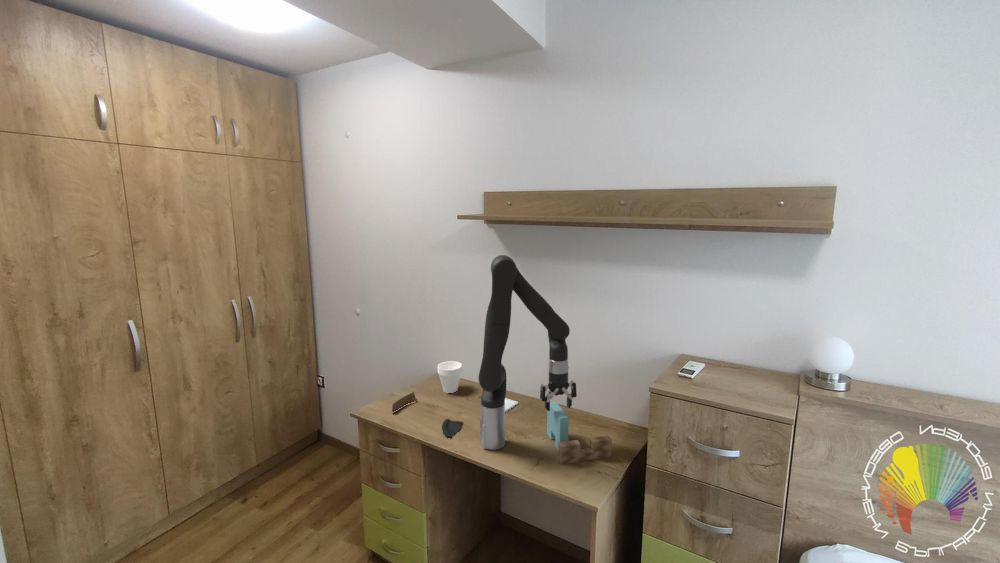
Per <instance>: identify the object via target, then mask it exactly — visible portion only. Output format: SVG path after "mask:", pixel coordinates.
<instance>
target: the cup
mask: <svg viewBox="0 0 1000 563" xmlns="http://www.w3.org/2000/svg"><path fill="white" fill-rule="evenodd" d="M462 372H463V365H462V363H461V362H459V361H454V360H451V361H450V360H448V361H443V362H440V363H439V364H437V373H438V376H439V380H440V384H441V387H442V391H443V393H444V392H446V393H453V392H456V391H457V392H458V389H459V385H460V380H461V375H462ZM457 392H456V393H457ZM446 393H445V394H446Z"/></svg>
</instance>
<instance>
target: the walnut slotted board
mask: <svg viewBox="0 0 1000 563" xmlns="http://www.w3.org/2000/svg"><path fill="white" fill-rule="evenodd" d="M612 446H613V440H612V438H611V436H609V435H602V436H594V437H590V438H589V447H586V448H582V446H581V442H580V441H579V440H578V439H574V440H568V441H566V442H559V447H558V449H557V452H558V453H557V456H558V459H557V460H558V462H559V463H560V465H566V464H571V463H578V462H586V461H592V460H597V459H603V458H610V457H612Z"/></svg>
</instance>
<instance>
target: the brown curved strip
mask: <svg viewBox="0 0 1000 563" xmlns="http://www.w3.org/2000/svg"><path fill="white" fill-rule="evenodd" d="M417 400H418V398H416V395H415V391H412V392H411V393H408V394H406V395H404V396H402V397H401V398H400V399H398V400H396V401H395V402H394V403H393V404H392V405H391V407H392V408H391V411H392V412H394V411H396V410H398V409H399V408H401V407H403V406H404V405H406V404H408V403H411V402H414V401H417ZM403 408H404V407H403Z"/></svg>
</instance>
